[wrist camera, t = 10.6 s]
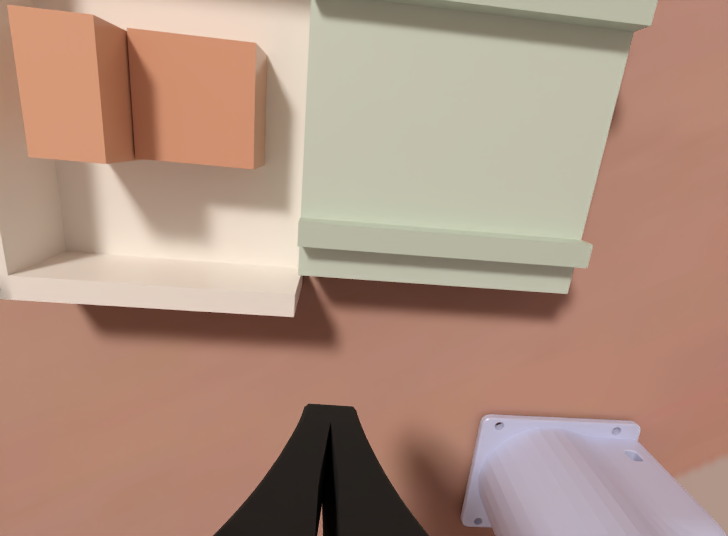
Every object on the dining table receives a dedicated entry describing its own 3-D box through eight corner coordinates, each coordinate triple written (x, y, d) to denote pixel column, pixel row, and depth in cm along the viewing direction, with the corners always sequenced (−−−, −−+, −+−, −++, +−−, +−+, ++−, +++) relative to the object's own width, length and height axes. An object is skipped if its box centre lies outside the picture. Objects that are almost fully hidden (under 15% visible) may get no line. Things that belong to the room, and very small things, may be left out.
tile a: (267, 55, 17) (255, 42, 15) (264, 165, 19) (253, 169, 16) (156, 42, 17) (126, 27, 15) (161, 155, 18) (135, 158, 16)
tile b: (92, 14, 13) (6, 4, 13) (106, 164, 14) (28, 156, 14) (155, 45, 17) (91, 37, 17) (160, 157, 18) (101, 152, 18)
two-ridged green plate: (603, -18, 18) (673, -58, 14) (537, 273, 22) (578, 301, 18) (319, -55, 17) (313, -109, 13) (303, 255, 21) (295, 282, 17)
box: (321, -100, 16) (315, -172, 12) (302, 284, 21) (293, 317, 17) (-5, -146, 15) (-119, -239, 12) (52, 267, 20) (-16, 297, 16)
